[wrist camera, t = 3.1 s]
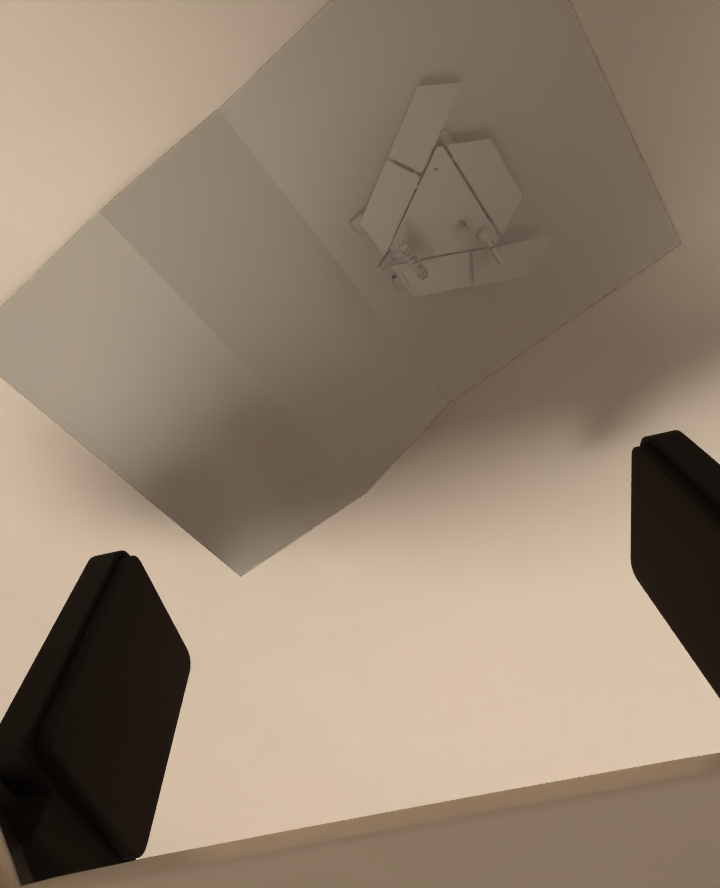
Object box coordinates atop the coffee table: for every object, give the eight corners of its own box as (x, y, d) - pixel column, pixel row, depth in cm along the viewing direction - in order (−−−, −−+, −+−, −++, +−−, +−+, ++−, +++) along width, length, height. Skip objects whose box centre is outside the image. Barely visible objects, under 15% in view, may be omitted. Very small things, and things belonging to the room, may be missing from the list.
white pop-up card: (-3, 323, 12) (-79, 370, 10) (494, -161, 9) (552, -255, 6) (246, 542, 15) (233, 615, 13) (681, 243, 12) (763, 272, 10)
